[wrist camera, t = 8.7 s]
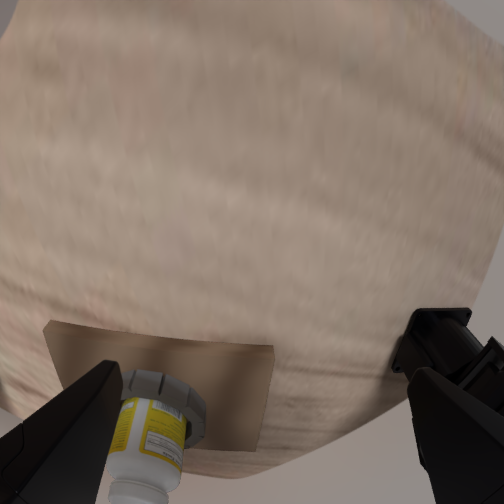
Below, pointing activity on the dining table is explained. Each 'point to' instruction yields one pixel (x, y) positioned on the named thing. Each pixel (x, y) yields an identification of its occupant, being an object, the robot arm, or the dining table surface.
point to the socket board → (177, 378)
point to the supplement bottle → (146, 452)
